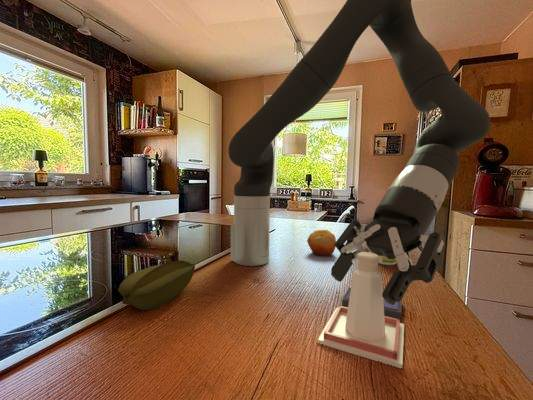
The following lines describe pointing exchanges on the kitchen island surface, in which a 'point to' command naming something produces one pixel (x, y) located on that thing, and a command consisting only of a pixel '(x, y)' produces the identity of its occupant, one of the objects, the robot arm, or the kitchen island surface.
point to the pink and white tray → (376, 350)
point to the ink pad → (389, 309)
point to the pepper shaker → (366, 300)
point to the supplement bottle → (386, 260)
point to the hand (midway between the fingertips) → (358, 288)
